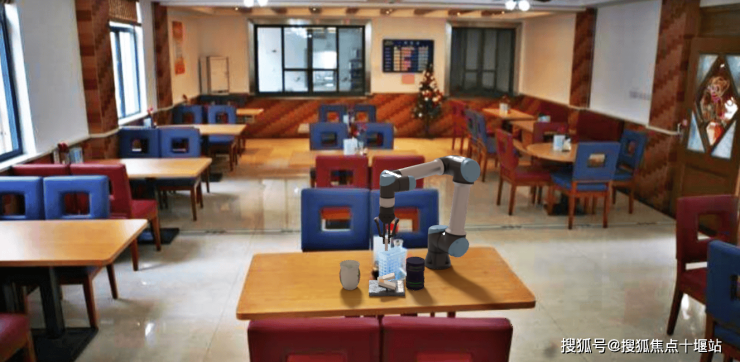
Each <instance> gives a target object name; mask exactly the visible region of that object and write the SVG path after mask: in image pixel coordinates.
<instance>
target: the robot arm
mask: <svg viewBox="0 0 740 362" xmlns="http://www.w3.org/2000/svg"><path fill="white" fill-rule="evenodd" d="M480 166H481V165H480V164H479V163H478V162H477V160H474V159H472V158H471V157H466V156H461V155H459V154H458V155H457V154H451V155H445V156H441V157H437V158H434V159H433V160H432V161H428V162H424V163H420V164H415V165H411V166H408V167H404V168H399V169H395V170H389V169H388V170H387V169H384V170H383V171H382V172H381V173H380V174H379V207H378V208H379V210H378V211H379V214H378V216H376V217H373V221H374V223H375V225H376V228H377V232H378V236H379V237H380V238H382V244H383V245H384V251H385V252H388V250H389V245H390V244H391V238H395V233H396V231H397V226H398V224H399V222H400V217H397V216H396V214H395V208H396V207H395V203H396V202H395V201H396V199H395V197H396V193H402V192H410V191H414V190H415V189H416V186H417V180H420V179H423V178H427V177H431V176H436V175H437V176H444V175H445V176H451V177H452V183H453V194H452V199H451V206H450V207H451V208H450V215H449V221H448V225H445V224H438V225H437V224H436V225H435V224H434V225H432V226H430V227H428V232H427V251H426V252H427V253H426V255H425V258H424V259H425V267H426V268H428V269H432V270H447V269H449V268H450V267H451V266H452V260H451V257H454V258H461V257H463V256H465V254H467V252H468V250H469V248H470V242H469V240H468V239H467V231H466V230H465V228H466V220H467V213H468V207H469V206H468V205H469V201H470V195H471V194H470V192H471V187H472V186H474V185H475V182H476V181H477V180H478V179H479V178H480V175H481V167H480ZM379 221H380V222H381V223H382V231H381V226H380V222H379ZM393 221H394V223H393ZM392 223H393V226H391V224H392ZM386 224H387V236H386ZM391 227H392V229H391ZM391 230H392V231H391ZM450 256H451V257H450Z"/></svg>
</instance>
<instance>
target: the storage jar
mask: <svg viewBox="0 0 740 362" xmlns="http://www.w3.org/2000/svg"><path fill="white" fill-rule="evenodd" d="M425 267H426V266H425V258H424V257H421V256H409V257H407V258H406V259H405V271H406V272H405V273H406V276H405V288H406V289H407V290H409V291H413V290H414V291H417V292H418V291H422V290H424V289H425V281H426V280H425V270H426V268H425Z"/></svg>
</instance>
